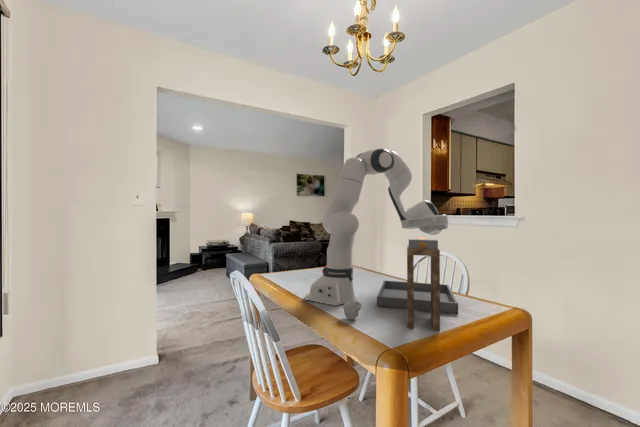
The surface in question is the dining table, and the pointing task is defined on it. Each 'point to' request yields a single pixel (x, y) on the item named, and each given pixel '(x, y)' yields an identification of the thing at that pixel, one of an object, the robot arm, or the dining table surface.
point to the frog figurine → (351, 309)
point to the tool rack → (434, 285)
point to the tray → (415, 297)
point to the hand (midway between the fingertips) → (420, 220)
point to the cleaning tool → (423, 244)
